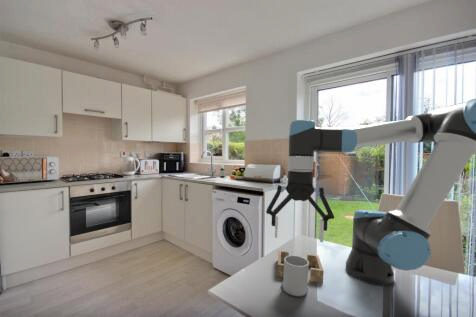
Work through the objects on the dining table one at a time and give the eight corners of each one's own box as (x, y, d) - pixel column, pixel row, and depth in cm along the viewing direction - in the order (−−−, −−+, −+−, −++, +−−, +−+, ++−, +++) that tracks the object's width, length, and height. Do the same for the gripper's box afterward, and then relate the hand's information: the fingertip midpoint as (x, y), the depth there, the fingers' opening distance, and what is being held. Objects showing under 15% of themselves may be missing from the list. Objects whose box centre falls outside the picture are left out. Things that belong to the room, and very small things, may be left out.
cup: (285, 296, 66) (287, 266, 66) (279, 277, 76) (280, 251, 76) (310, 297, 66) (312, 267, 66) (300, 278, 76) (302, 252, 76)
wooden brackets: (317, 265, 87) (318, 255, 87) (322, 282, 76) (323, 270, 76) (278, 260, 90) (278, 250, 90) (277, 275, 79) (277, 264, 78)
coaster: (306, 283, 75) (306, 281, 75) (308, 298, 67) (309, 296, 67) (281, 279, 76) (281, 277, 76) (281, 293, 68) (281, 291, 68)
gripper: (340, 171, 72) (337, 238, 72) (261, 168, 77) (259, 230, 77) (346, 173, 65) (344, 247, 65) (259, 169, 70) (256, 238, 70)
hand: (298, 238), depth 71 cm, fingers open, 13 cm apart
